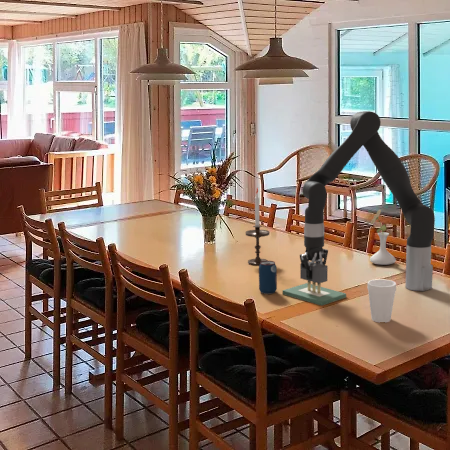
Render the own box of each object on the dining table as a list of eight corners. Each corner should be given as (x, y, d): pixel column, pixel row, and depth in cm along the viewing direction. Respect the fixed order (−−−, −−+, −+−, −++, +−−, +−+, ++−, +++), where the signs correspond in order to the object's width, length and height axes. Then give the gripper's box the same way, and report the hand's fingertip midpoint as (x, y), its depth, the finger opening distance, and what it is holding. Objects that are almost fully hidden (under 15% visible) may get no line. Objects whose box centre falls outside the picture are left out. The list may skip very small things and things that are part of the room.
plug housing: (327, 281, 256) (327, 265, 255) (319, 283, 253) (319, 268, 252) (308, 276, 263) (308, 261, 262) (300, 278, 260) (300, 263, 259)
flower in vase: (380, 259, 311) (381, 205, 306) (400, 263, 302) (402, 208, 297) (362, 264, 303) (362, 209, 298) (382, 269, 294) (384, 212, 289)
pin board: (346, 297, 257) (346, 283, 256) (321, 305, 248) (321, 291, 247) (306, 286, 272) (306, 273, 270) (282, 294, 263) (282, 280, 261)
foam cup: (361, 319, 232) (362, 283, 229) (376, 313, 238) (377, 277, 236) (385, 326, 225) (386, 288, 223) (400, 319, 232) (401, 282, 229)
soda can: (280, 292, 264) (280, 263, 262) (265, 295, 261) (264, 265, 259) (270, 288, 270) (270, 259, 268) (255, 291, 267) (255, 261, 265)
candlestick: (258, 258, 317) (257, 184, 310) (274, 262, 309) (273, 186, 302) (241, 262, 310) (239, 187, 303) (257, 267, 302) (256, 189, 295)
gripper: (308, 238, 247) (308, 283, 251) (334, 232, 257) (333, 276, 260) (293, 235, 253) (293, 279, 256) (319, 229, 262) (319, 272, 266)
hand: (314, 277), depth 258 cm, fingers closed on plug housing, 4 cm apart
